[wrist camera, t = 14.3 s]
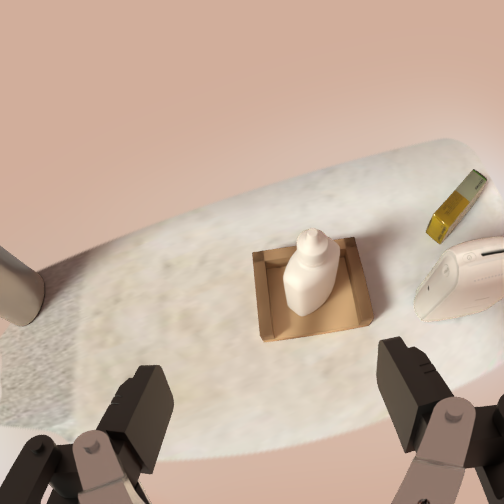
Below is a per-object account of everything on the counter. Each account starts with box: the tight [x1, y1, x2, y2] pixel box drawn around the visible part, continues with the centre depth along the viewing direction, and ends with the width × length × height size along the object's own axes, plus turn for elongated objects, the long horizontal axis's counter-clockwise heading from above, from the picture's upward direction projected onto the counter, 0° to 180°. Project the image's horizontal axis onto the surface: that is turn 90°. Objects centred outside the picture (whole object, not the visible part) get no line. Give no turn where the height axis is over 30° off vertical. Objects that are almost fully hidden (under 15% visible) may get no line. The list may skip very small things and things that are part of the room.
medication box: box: [426, 169, 487, 244], centre depth 33 cm, size 12×3×4 cm, turn 128°
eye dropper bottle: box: [283, 228, 340, 316], centre depth 27 cm, size 4×6×12 cm
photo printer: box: [414, 236, 504, 322], centre depth 25 cm, size 10×4×12 cm, turn 91°
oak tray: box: [252, 237, 374, 342], centre depth 32 cm, size 11×9×3 cm
